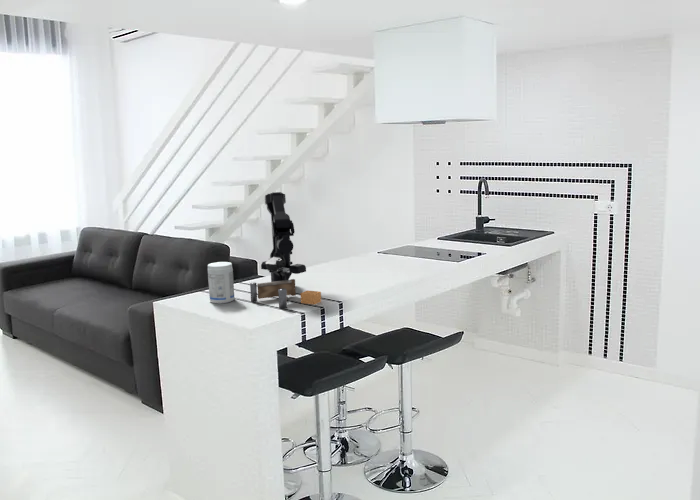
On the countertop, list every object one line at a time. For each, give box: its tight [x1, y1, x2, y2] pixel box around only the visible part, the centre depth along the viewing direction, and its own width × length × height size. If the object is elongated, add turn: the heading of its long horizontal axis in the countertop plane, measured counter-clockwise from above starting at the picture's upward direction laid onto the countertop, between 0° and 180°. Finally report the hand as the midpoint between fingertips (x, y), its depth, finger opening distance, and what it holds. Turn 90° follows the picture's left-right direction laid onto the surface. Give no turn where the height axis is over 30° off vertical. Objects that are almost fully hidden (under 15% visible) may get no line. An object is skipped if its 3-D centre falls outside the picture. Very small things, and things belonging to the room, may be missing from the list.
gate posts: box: [249, 282, 288, 310], centre depth 247 cm, size 19×3×7 cm, turn 48°
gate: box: [256, 278, 296, 300], centre depth 256 cm, size 15×1×6 cm, turn 115°
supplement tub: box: [207, 261, 235, 304], centre depth 254 cm, size 10×10×15 cm
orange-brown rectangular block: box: [300, 290, 322, 305], centre depth 250 cm, size 6×5×4 cm
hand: (283, 288), depth 260 cm, fingers closed
